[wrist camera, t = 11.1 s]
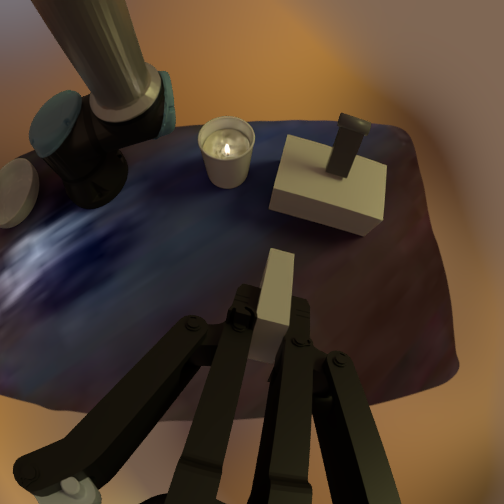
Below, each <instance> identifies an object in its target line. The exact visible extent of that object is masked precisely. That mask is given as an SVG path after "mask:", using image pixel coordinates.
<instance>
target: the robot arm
mask: <svg viewBox="0 0 504 504" xmlns="http://www.w3.org/2000/svg"><path fill="white" fill-rule="evenodd" d="M31 1H32V3H33V4H34V6H35V8H36V9H37V10H38V13H39V14H40V16H41V17H42V19H43V20H44V22H45V23H46V25H47V27H48V28H49V30H50V31H51V33H52V34H53V36H54V37H55V39H56V40H57V42H58V44H59V45H60V46H61V48H62V50H63V51H64V53H65V54H66V56H67V57H68V59H69V60H70V62H71V63H72V65H73V66H74V68H75V69H76V71H77V72H78V73H79V75H80V76H81V78H82V79H83V81H84V82H85V84H86V85H87V86H88V88H89V90H90V91H91V93H90V94H89V95H86V96H83V97H81V95H80V94H79V93H77V92H76V91H71V90H66V91H63V92H60V93H59V94H56V95H55V96H53V97H52V98H51V99H49V100H48V101H47V102H46V103H45V104H44V105H43V106H42V107H41V108H40V110H39V111H38V113H37V114H36V116H35V117H34V119H33V121H32V123H31V126H30V131H29V140H30V143H31V145H32V146H33V148H34V149H35V151H36V152H37V154H38V156H40V157H41V158H42V159H43V160H44V161H45V162H46V163H47V164H48V165H49V166H50V167H51V168H52V169H53V170H54V171H55V172H56V173H57V174H58V175H59V176H60V177H61V178H62V181H63V184H64V186H65V190H66V193H67V195H68V197H69V198H70V199H71V200H72V201H73V202H74V203H75V204H76V205H77V206H79V207H81V208H85V209H94V208H98V207H101V206H103V205H105V204H107V203H109V202H110V201H111V200H113V199H114V198H115V197H116V196H117V195H118V194H119V192H120V191H121V189H122V188H123V186H124V184H125V182H126V179H127V175H128V165H127V161H126V159H125V157H124V156H123V154H122V153H121V151H120V150H119V149H121V148H124V147H127V146H130V145H134V144H137V143H140V142H144V141H147V140H151V139H158V138H159V137H161V136H164V135H167V134H170V133H171V132H172V131H173V130H174V128H175V124H176V119H175V118H176V117H175V109H174V97H173V90H172V85H171V80H170V76H169V74H168V72H166V71H157V70H156V69H155V67H153V66H152V65H151V64H149V63H146V62H144V59H143V56H142V53H141V50H140V46H139V43H138V40H137V37H136V34H135V31H134V27H133V24H132V21H131V18H130V14H129V11H128V8H127V5H126V1H125V0H31ZM293 268H294V254H291V253H288V252H284V251H280V250H277V249H273V248H271V249H270V252H269V256H268V259H267V263H266V266H265V270H264V273H263V277H262V280H261V284H260V288H258V287H254V286H251V285H247V284H242V285H241V286H240V287H239V288H238V289H237V292H236V295H235V298H234V301H233V304H232V306H231V307H230V308H229V309H228V313H227V318H226V321H225V322H223V323H221V324H215V325H211V324H207V323H206V321H205V320H204V319H202V318H201V317H198V316H195V315H188V316H184V317H183V318H181V319H180V320H179V321H178V322H177V323H176V324H175V325H174V326H173V327H172V328H171V329H170V330H169V331H168V332H167V333H166V334H165V335H164V336H163V337H162V338H161V339H160V340H159V342H158V343H157V344H156V345H155V346H154V347H153V348H152V349H151V350H150V351H149V352H148V353H147V354H146V355H145V356H144V357H143V358H142V359H141V360H140V361H139V362H138V363H137V364H136V365H135V366H134V367H133V368H132V369H131V370H130V371H129V372H128V373H127V374H126V375H125V376H124V377H123V378H122V379H121V380H120V381H119V382H118V383H117V384H116V385H115V386H114V387H113V388H112V389H111V391H110V392H109V393H108V394H107V395H106V396H105V397H104V398H103V399H102V400H101V401H100V402H99V403H98V404H97V405H96V406H95V407H94V408H93V409H92V410H91V411H90V412H89V413H88V414H87V415H86V416H85V417H84V418H83V419H82V420H81V421H80V422H79V423H78V424H77V426H75V427H74V429H72V431H71V432H70V433H69V434H68V435H67V436H66V437H65V438H63V439H61V440H59V441H57V442H54V443H52V444H50V445H48V446H45V447H43V448H41V449H38V450H36V451H33V452H31V453H28V454H26V455H24V456H21V457H20V458H18V459H17V460H16V462H15V463H14V466H13V474H14V477H15V480H16V481H17V482H18V484H19V485H20V486H21V487H23V488H24V489H26V490H27V491H29V492H30V493H31V494H33V495H34V496H35V498H36V499H37V501H38V503H39V504H101V500H102V498H101V494H100V492H99V491H98V490H99V489H100V488H101V487H103V486H104V485H105V484H106V483H108V482H109V481H110V480H111V479H112V478H113V477H114V476H115V475H116V474H117V472H118V471H119V470H120V469H121V468H122V466H123V465H124V464H125V463H126V461H127V460H128V459H129V458H130V456H131V455H132V454H133V453H134V451H135V450H136V449H137V448H138V447H139V445H140V444H141V443H142V442H143V440H144V439H145V438H146V437H147V435H148V434H149V433H150V432H151V430H152V429H153V428H154V427H155V425H156V424H157V423H158V421H159V420H160V419H161V418H162V416H163V415H164V414H165V413H166V411H167V410H168V409H169V407H170V406H171V405H172V404H173V402H174V401H175V400H176V399H177V397H178V396H179V395H180V393H181V392H182V391H183V389H184V388H185V387H186V386H187V384H188V383H189V382H190V380H191V379H192V378H193V376H194V375H195V374H196V373H197V371H198V370H199V369H200V367H201V366H211V368H210V371H209V374H208V377H207V380H206V383H205V386H204V389H203V392H202V395H201V398H200V401H199V404H198V407H197V410H196V413H195V416H194V419H193V422H192V425H191V428H190V431H189V434H188V437H187V441H186V443H185V447H184V450H183V452H182V455H181V457H180V459H179V461H178V464H177V466H176V469H175V472H174V475H173V479H172V482H171V485H170V488H169V491H168V493H166V494H161V495H157V496H154V497H151V498H149V499H147V500H145V501H144V502H142V503H140V504H225V503H223V502H221V501H219V500H217V499H216V495H217V492H218V487H219V483H220V479H221V475H222V466H223V461H224V457H225V453H226V449H227V445H228V441H229V436H230V432H231V428H232V424H233V419H234V415H235V411H236V406H237V402H238V398H239V393H240V389H241V385H242V380H243V376H244V371H245V367H246V362H247V358H249V359H253V360H257V361H261V362H265V363H269V364H273V363H274V360H275V364H274V368H273V370H272V372H271V374H270V377H269V379H268V381H267V382H270V385H269V391H268V398H267V404H266V410H265V416H264V423H263V429H262V434H261V441H260V446H259V452H258V458H257V463H256V469H255V474H254V480H253V485H252V490H251V494H250V497H249V499H248V502H247V504H312V486H311V484H310V483H308V467H309V452H310V436H311V416H312V415H313V419H314V423H315V427H316V432H317V436H318V441H319V445H320V449H321V453H322V458H323V463H324V467H325V471H326V476H327V481H328V485H329V489H330V494H331V499H332V503H333V504H401V501H400V498H399V494H398V491H397V488H396V484H395V481H394V478H393V475H392V472H391V468H390V466H389V463H388V459H387V456H386V454H385V450H384V447H383V444H382V441H381V438H380V436H379V433H378V430H377V427H376V424H375V421H374V418H373V416H372V413H371V410H370V407H369V404H368V402H367V399H366V396H365V394H364V391H363V388H362V385H361V383H360V380H359V378H358V375H357V372H356V370H355V367H354V364H353V362H352V360H351V358H350V357H349V356H348V355H347V354H345V353H343V352H341V351H332V352H330V353H329V354H326V353H324V352H322V351H320V350H318V349H317V348H315V347H314V346H313V342H312V340H311V339H310V306H309V304H308V302H307V300H306V299H303V298H299V297H295V296H291V295H292V282H293Z"/></svg>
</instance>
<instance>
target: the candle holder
mask: <svg viewBox="0 0 504 504" xmlns="http://www.w3.org/2000/svg"><path fill="white" fill-rule="evenodd" d="M254 142H255V134H254V131H253V129H252V127H251V126H250V125H249V124H248V123H247V122H246V121H244V120H242V119H240V118H237V117H232V116H222V117H218V118H215V119H212V120H210V121H209V122H207V123H206V124H205V125H204V126H203V127H202V128H201V130H200V132H199V135H198V145H199V147H200V150H201V154H202V157H203V161H204V164H205V168H206V171H207V174H208V177H209V179H210V181H211V182H212V183H213V184H214V185H216V186H218V187H220V188H225V189H230V188H235V187H237V186H239V185H241V184H242V183H243V182H244V181H245V179H246V178H247V175H248V171H249V166H250V161H251V155H252V150H253V145H254Z"/></svg>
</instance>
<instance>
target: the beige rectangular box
mask: <svg viewBox="0 0 504 504" xmlns="http://www.w3.org/2000/svg"><path fill="white" fill-rule="evenodd" d="M331 150H332V147H330V146H327V145H323V144H320V143H317V142H313V141H310V140H306V139H303V138H299V137H295V136H292V135H288V136H287V139H286V143H285V147H284V150H283V154H282V158H281V162H280V165H279V169H278V173H277V176H276V180H275V184H274V187H273V192H272V196H271V200H270V204H269V210H273V211H277V212H281V213H284V214H288V215H292V216H295V217H299V218H302V219H306V220H309V221H313V222H316V223H320V224H323V225H327V226H330V227H334V228H337V229H341V230H344V231H347V232H351V233H354V234H357V235H361V236H365V235H366V234H368V233H369V232H370V231H371V230H372V229H373V228H375V227H376V226H377V225H378V224H379V223H380V222H381V221H383V212H384V200H385V186H386V168H387V166H386V165H383V164H381V163H378V162H375V161H372V160H370V159H367V158H364V157H361V156H358V155H356V157H355V159H354V162H353V164H352V167H351V169H350V172H349V174H348V177H347V178H344V177H341V176H337V175H334V174H331V173H328V172H325V168H326V165H327V162H328V159H329V156H330V153H331Z"/></svg>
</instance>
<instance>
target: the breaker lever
mask: <svg viewBox="0 0 504 504" xmlns="http://www.w3.org/2000/svg"><path fill="white" fill-rule="evenodd" d="M337 126H339V130H338V133H337V136H336V139H335V142H334V144H333V147H332V150H331V153H330V156H329V159H328V162H327V165H326V168H325V172H328V173H331V174H334V175H337V176H341V177H344V178H347V177H348V174H349V172H350V169H351V167H352V164H353V162H354V159H355V157H356V154H357V152H358V149H359V147H360V144H361V142H362V139H363V137H364V135H366V136H367V135H368V133H369V131H370V127H371V123H370V122H367V121H365V120H362V119H359V118H356V117H353V116H350V115H347V114H344V113H341V114H340V116H339V120H338V124H337Z"/></svg>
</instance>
